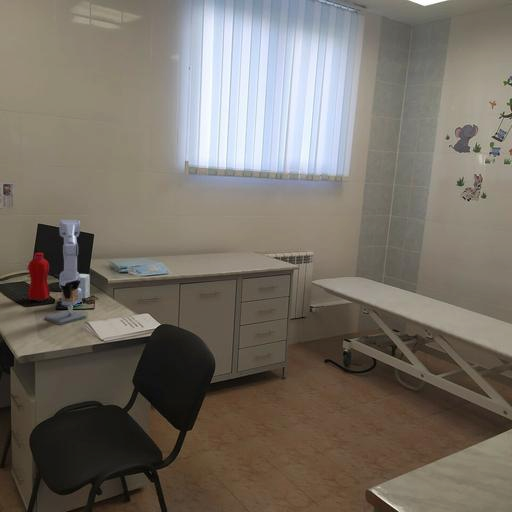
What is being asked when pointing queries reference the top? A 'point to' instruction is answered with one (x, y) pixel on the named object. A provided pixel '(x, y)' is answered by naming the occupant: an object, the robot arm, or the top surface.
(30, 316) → the top surface
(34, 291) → the water bottle
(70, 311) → the metal post
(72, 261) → the robot arm
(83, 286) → the small box
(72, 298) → the wooden cubby box
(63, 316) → the flat gray board
